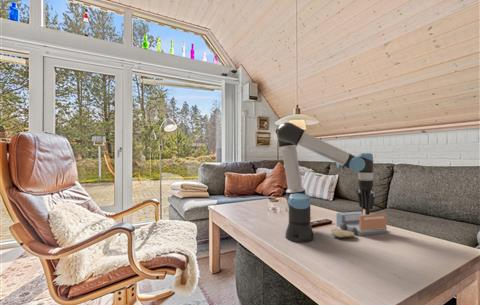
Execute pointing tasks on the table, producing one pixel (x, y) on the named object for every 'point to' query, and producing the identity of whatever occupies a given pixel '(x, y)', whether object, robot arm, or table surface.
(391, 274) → the table surface
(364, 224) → the tailgate
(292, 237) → the robot arm
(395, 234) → the table surface
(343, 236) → the seashell
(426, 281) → the table surface
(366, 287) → the table surface
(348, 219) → the truck bed
